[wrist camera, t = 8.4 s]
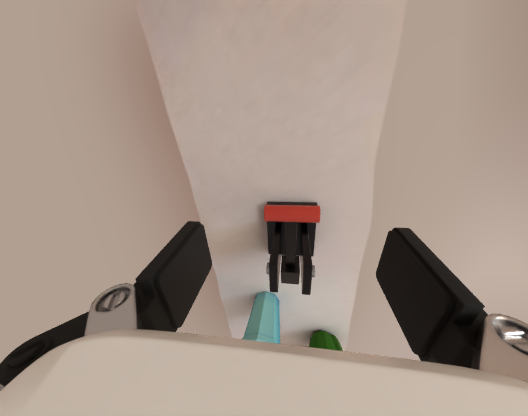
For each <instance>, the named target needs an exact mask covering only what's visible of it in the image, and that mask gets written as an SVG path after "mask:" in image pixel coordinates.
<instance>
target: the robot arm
mask: <svg viewBox="0 0 528 416" xmlns="http://www.w3.org/2000/svg"><path fill="white" fill-rule="evenodd" d="M211 266H212V260H211V256H210V251H209V247H208V243H207V238H206V234H205V230H204V226H203V225H202V224H201V223H200V222H193V221H192V222H191V221H189V222H187V223H186V224H185V225H184V226H183V227H182V228H181V230H180V231H179V232H178V233H177V234H176V235H175V236H174V237H173V238H172V239H171V240H170V242H169V243H168V244H167V245H166V246H165V247H164V248H163V249H162V250H161V251H160V253H159V254H158V255H157V256H156V257H155V258H154V259H153V260H152V261H151V262H150V263H149V265H148V266H147V267H146V268H145V269H144V270H143V271H142V272H141V273H140V275H139V276H138V277H137V278H136V281H137V282H136V283H135V284H134V285H132V284H128V283H124V284H119V285H115V286H113V287H111V288H109V289H107V290H106V291H104V292H103V293H101V294H100V295H99V296H98V297H97V298H96V299H95V300H94V301H93V303H92V305H91V307H90V310H89V312H87V313H85V314H82V315H80V316H78V317H76V318H74V319H72V320H70V321H68V322H65V323H64V324H61V325H59V326H57V327H55V328H53V329H51V330H48V331H46V332H44V333H42V334H40V335H38V336H36V337H34V338H32V339H30V340H28V341H26V342H25V343H23V344H22V345H20V346H19V347H17V348H16V349H15V350H14V351H12V352H11V353H10V354H9V355H8V356H7V357H6V358H5V359H4V360H3V362H2V363H1V364H0V416H528V324H526V323H524V322H522V321H520V320H518V319H515V318H513V317H510V316H506V315H502V314H490V315H488V314H487V313H486V312H485V311H484V310H483V308H484V307H485V306H484V305H483V304H482V303H481V302H480V301H479V300H478V299H477V298H476V297H475V296H474V295H473V294H472V293H471V292H470V291H469V289H468V288H467V287H466V286H465V285H464V284H463V283H462V282H461V281H460V280H459V279H458V278H457V277H456V276H455V275H454V274H453V273H452V272H451V271H450V270H449V269H448V268H447V267H446V266H445V265H444V264H443V262H442V261H441V260H440V259H439V258H438V257H437V256H436V255H435V254H434V253H433V252H432V251H431V250H430V249H429V248H428V247H427V246H426V245H425V244H424V243H423V242H422V241H421V240H420V239H419V238H418V237H417V235H415V233H413V231H412V230H411V229H409V228H394V229H393V230H392V231H389V232H388V235H387V238H386V242H385V245H384V248H383V251H382V255H381V258H380V261H379V265H378V268H377V271H376V277H377V280H378V282H379V284H380V286H381V288H382V290H383V292H384V294H385V296H386V299H387V300H388V303H389V304H390V307H391V309H392V311H393V313H394V315H395V317H396V319H397V321H398V323H399V325H400V327H401V329H402V331H403V333H404V335H405V337H406V339H407V341H408V343H409V345H410V347H411V349H412V351H413V352H414V353H415V354H417V355H418V356H419V358H420V360H421V361H418V360H410V359H403V358H394V357H386V356H378V355H369V354H362V353H354V352H346V351H337V350H329V349H321V348H312V347H304V346H295V345H287V344H278V343H269V342H261V341H252V340H243V339H234V338H225V337H216V336H207V335H198V334H189V333H179V332H176V331H177V329H178V328H179V327H181V326H182V324H183V322H184V321H185V319H186V317H187V315H188V313H189V311H190V309H191V307H192V305H193V303H194V301H195V299H196V297H197V295H198V293H199V291H200V289H201V287H202V285H203V283H204V281H205V279H206V277H207V275H208V273H209V271H210V269H211Z"/></svg>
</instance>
